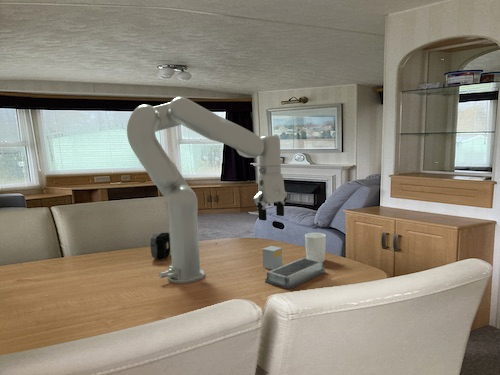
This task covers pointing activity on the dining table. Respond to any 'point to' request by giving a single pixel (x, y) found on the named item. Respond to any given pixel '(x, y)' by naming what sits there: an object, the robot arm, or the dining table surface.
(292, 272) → the rail
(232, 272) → the dining table surface
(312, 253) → the white cup
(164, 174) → the robot arm
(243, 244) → the dining table surface
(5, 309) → the dining table surface
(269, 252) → the block
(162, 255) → the cpu cooler
